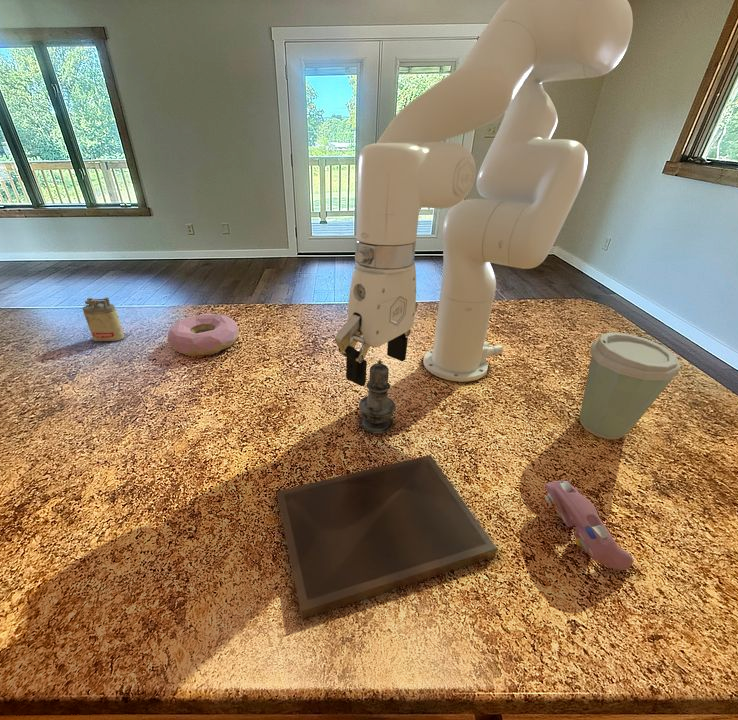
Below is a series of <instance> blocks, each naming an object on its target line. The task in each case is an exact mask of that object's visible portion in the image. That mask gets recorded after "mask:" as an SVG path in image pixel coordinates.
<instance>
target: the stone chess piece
mask: <svg viewBox="0 0 738 720" xmlns="http://www.w3.org/2000/svg"><path fill="white" fill-rule="evenodd" d="M389 370H390V369H389V367H388V366H387V365H386V364H384V363H383V362H382V360H381V359H378V361H377V363H374V364H372V365H371V366H370V367H369V375H368V376H369V378H368V379H369V381H367V383H366V388H367V389H368V391H367V393H368V394H367V395H366V396H363V397H362V398H361V399H360V400H359V402H358V408H359V410H360V413H361V415H362V416H361V418H360V420H359V421H360V424H359V425H360V426H361V428H363V430H365V431H366V432H369V433H371V434H384V433H387V432H389V431H390V430H391V429H392V427H393V419H392V416H393V414H394V412H395V411H396V408H397V406H396V403H395V401H394V400H393V399H392V398H391V397H389V396H388V395H389V390H390V388H391V384H390V383H389V372H390V371H389Z"/></svg>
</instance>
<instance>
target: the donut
mask: <svg viewBox="0 0 738 720" xmlns="http://www.w3.org/2000/svg"><path fill="white" fill-rule="evenodd" d="M238 338H239V327H238V325H237V323H236V321H235V320H234V319H233V318H231V317H229V315H223V314H215V313H208V312H207V313H203V314H202V313H201V314H196V315H192V316H188V317H184V318H182V319H181V320H179V321H178V322H176V323H175V324H173V325H172V327H171V328H170V329H169V330H168V331H167V341H166V342H168V343H169V346H170V347H171V348H172V350H174V351H175V352H177V353H179V354H182V355H186V356H190V357H196V356H197V357H199V356H213V355H215V354H217V353H219V352H221V351H224V350H226V349H227V348H230V347H231V346H232V345H233V344H234V343H235V342H236V341H237V340H238Z"/></svg>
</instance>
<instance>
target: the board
mask: <svg viewBox="0 0 738 720" xmlns="http://www.w3.org/2000/svg"><path fill="white" fill-rule="evenodd" d="M276 497H277V503H278V507H279V511H280V517H281V522H282V527H283V533H284V537H285V538H284V539H285V542H286V548H287V552H288V557H289V561H290V562H289V563H290V566H291V572H292V577H293V582H294V586H295V592H296V598H297V602H298V607H299V611H300V617H301V619H302V620H304V619H308V618H311V617H314V616H317V615H320V614H323V613H326V612H328V611H332V610H335V609H338V608H341V607H344V606H347V605H351V604H354V603H356V602H360V601H363V600H365V599H368V598H372V597H375V596H378V595H382V594H384V593H387V592H391V591H393V590H397V589H400V588H402V587H406V586H409V585H412V584H415V583H418V582H421V581H425V580H428V579H430V578H433V577H436V576H440V575H443V574H446V573H449V572H452V571H456V570H459V569H461V568H464V567H467V566H471V565H473V564H477V563H480V562H483V561H486V560H489V559H492V558H495V557H496V555H497V551H498V547H497V545H495V543H494V542H493V540H492V539H491V537H490V536H489V535H488V532H487V531H486V530H485V529H484V528H483V525H482V524H481V523H480V521H478V519H477V518H476V516H475V515H474V513H473V512H472V511H471V509H470V508H469V506H468V505H467V504H466V502H465V501H464V500H463V498H462V497H461V496H460V494H459V493H458V491H457V490H456V488H455V487H454V486H453V484H452V483H451V481H450V480H449V479H448V477H447V476H446V475H445V473H444V472H443V470H442V469H441V468H440V466H439V465H438V463H437V462H436V461H435V459H434V457H433V456H432V455H431V454H427V455H424V456H419V457H415V458H411V459H407V460H402V461H398V462H394V463H390V464H385V465H381V466H378V467H372V468H368V469H364V470H360V471H356V472H352V473H348V474H344V475H340V476H335V477H331V478H327V479H323V480H322V479H321V480H319V481H314V482H310V483H306V484H302V485H301V484H300V485H297V486H293V487H289V488H284V489H281V490H276Z"/></svg>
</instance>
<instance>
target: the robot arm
mask: <svg viewBox="0 0 738 720" xmlns="http://www.w3.org/2000/svg"><path fill="white" fill-rule="evenodd" d="M633 25H634V19H633V10H632V6H631V4H630V2H629V0H505V1H504V2H502V4H501V6H499V8H498V9H497V11H496V12H495V14H493V16H492V17H491V19H490V21H489V22H488V24H486V26H485V28H484V30H483V31H482V32H481V34H480V35H479V37H478V39H477V40H476V41H475V43H474V44H473V46H472V48H471V49H470V50H469V52H468V53H467V55H466V56H465V58H464V59H463V61H462V63H461V64H460V65H459V66H458V68H457V69H456V70H455V71H453V72H451V73H450V74H449V75H447V76H445V77H443V78H442V79H440V80H439V81H438V82H437V83H435V84H434V85H432V86H431V87H430V88H428V89H427V90H426V91H424V92H423V93H422V94H420V95H418V96H417V97H416V98H414V99H413V100H412V101H410V102H409V103H408V104H406V106H404V107H403V108H402V109H401V110H400V111H399V112H398V113H397V114H396V115H395V116H394V117H393V119H392V120H391V121H390V122H389V124H388V126H387V127H386V128H385V129H384V131H383V133H382V134H381V135H380V137H379V138H378V140H377V142H376V143H370V144H367V145H365V146H363V148H361V150H360V152H359V156H358V163H357V187H356V188H357V191H356V193H357V194H356V222H355V253H354V267H353V271H352V275H351V281H350V288H349V295H348V302H347V303H348V304H347V318H346V319H347V321H346V322H345V324H344V325H343V326H342V327H341V328H340V329H339V330H338V332H336V334H335V335H334V341H335V344H336V346H337V347H338V351H339V352H340V353H341V354H342V355H343V356H344V357H345V358H346V361H345V363H346V364H345V378H346V379H347V380H348V381H350V382H352V383H354V384H356V385H358V386H360V387H364V386H366V384H367V383H366V382H367V367H368V366H367V365H368V361H367V360H366V359H365V358H366V355H367V354H368V351H369V349H370V348H378V347H381V346H383V345H385V344H387V347H386V348H387V349H386V356H388V357H390V358H392V359H395V360H398V361H400V362H404V361H406V359H407V351H408V341H409V337H410V335H411V332H412V331H411V329H412V328H413V326H414V324H415V316H416V312H417V310H418V306H419V303H418V302H417V301H416V300H417V270H416V262H415V255H416V246H417V235H418V227H419V215H420V211H421V209H423V208H425V209H427V208H429V209H437V210H439V209H440V210H443V209H449V208H450V209H449V210H448V211H447V213H446V215H445V217H444V220H443V222H442V231H441V232H442V234H441V235H442V236H441V237H442V251H443V252H442V256H443V257H442V258H443V261H442V262H443V264H442V276H441V283H440V284H441V285H440V292H439V300H438V305H437V306H438V308H437V314H436V323H435V329H434V337H433V344H432V349H430V350H428V351H427V352H425V354H424V355H423V359H422V360H423V361H422V362H423V366H424V368H425V369H426V370H427V372H429V373H430V374H432V375H434V376H435V377H438V378H440V379H443V380H446V381H451V382H456V383H457V382H458V383H464V382H465V383H468V382H473V381H478V380H480V379H482V378H483V377H484V376H486V374H487V372H488V369H489V363H488V362H487V360H486V359H489V358H490V356H498V355H502V354H503V352H504V349H503V346H502V345H500V344H497V345H491V346H490V343H489V342H488V341H486V338H487V333H488V328H489V323H490V318H491V315H492V310H493V304H494V300H495V297H496V296H495V295H496V292H497V291H496V290H497V278H496V275H495V272H494V269H493V267H492V264H496V265H500V266H505V267H511V268H515V269H516V268H517V269H522V270H523V269H524V270H529V269H530V270H531V269H534V268H537V267H538V266H540V265H541V264H542V263H543V262H544V261H545V260H546V259H547V257H548V255H549V254H550V253H551V251H552V248H553V247H554V245H555V242H556V240H557V238H558V236H559V234H560V232H561V230H562V228H563V226H564V224H565V222H566V220H567V218H568V215H569V213H570V212H571V209H572V207H573V205H574V203H575V201H576V200H577V197H578V194H579V192H580V190H581V187H582V185H583V183H584V180H585V176H586V172H587V168H588V151H587V149H586V147H585V145H583V144H582V143H581V142H580V141H577V140H575V139H568V138H567V139H565V138H554V139H553V138H552V137H553V134H554V133H555V130H556V128H557V125H558V120H559V119H558V113H557V109H556V107H555V105H554V103H553V101H552V99H551V97H550V96H549V94H548V93H547V92H546V91H545V89H544V86H543V85H544V84H543V83H549V82H560V81H569V80H579V79H592V78H598V77H602V76H605V75H606V74H609V73H610V72H611V71H613V70H614V69H615V68H616V66H618V64H619V63H620V62H621V60H622V59H623V57H624V55H625V53H626V52H627V50H628V47H629V45H630V44H629V43H630V41H631V37H632V33H633ZM502 116H503V119H502V121H501V124H500V126H499V128H498V130H497V132H496V134H495V136H494V138H493V140H492V142H491V144H490V147H489V148H488V151H487V153H486V155H485V157H484V159H483V162H482V164H481V166H480V168H479V171H478V172H477V167H476V166H477V165H476V161H475V158H474V157H473V154H472V152H471V151H470V150H469V149H468V148H467V147H466V146H464V145H462V144H460V143H457V142H453V141H447V140H449V139H452V138H455V137H458V136H461V135H465V134H468V133H471V132H473V131H476V130H478V129H480V128H483V127H485V126H487V125H489V124H491V123H493V122H495V121H496V120H498V119H499V118H501V117H502ZM476 174H477V175H476ZM476 176H477V177H476ZM475 180H476V183H475ZM474 183H475V185H476V190H477V192H478V194H479V195H480V196H481V197H482V198H469V199H466V197H467V196H469V193H470V192H471V190H472V188H473V186H474ZM464 199H465V200H464ZM357 343H360V344H361V345H360V347H359V349H358V350H357V349H356V348H355V347H356V345H357Z"/></svg>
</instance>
